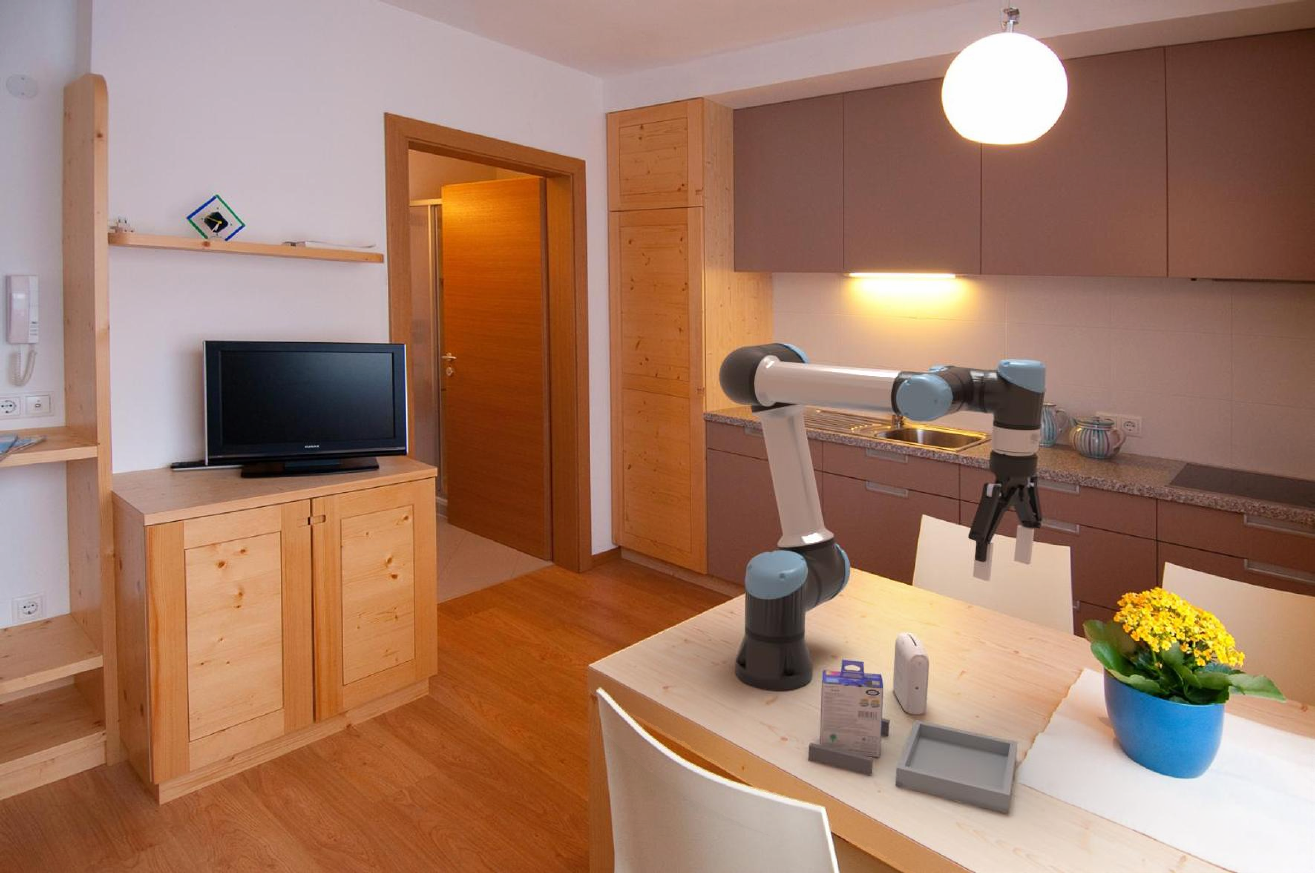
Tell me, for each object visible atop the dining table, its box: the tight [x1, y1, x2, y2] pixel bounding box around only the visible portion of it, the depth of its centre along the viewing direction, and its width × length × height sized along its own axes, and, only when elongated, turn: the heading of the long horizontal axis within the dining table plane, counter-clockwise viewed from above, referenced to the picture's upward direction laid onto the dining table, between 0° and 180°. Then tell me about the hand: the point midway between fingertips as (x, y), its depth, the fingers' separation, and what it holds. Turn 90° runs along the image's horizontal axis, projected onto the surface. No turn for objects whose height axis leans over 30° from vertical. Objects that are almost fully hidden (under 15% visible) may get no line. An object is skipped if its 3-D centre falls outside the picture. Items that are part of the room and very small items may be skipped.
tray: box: [895, 719, 1018, 814], centre depth 133 cm, size 16×16×3 cm
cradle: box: [807, 717, 891, 776], centre depth 141 cm, size 10×14×2 cm
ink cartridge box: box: [819, 659, 884, 758], centre depth 140 cm, size 10×6×14 cm, turn 79°
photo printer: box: [892, 632, 930, 716], centre depth 155 cm, size 10×4×12 cm, turn 179°
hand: (1002, 570), depth 148 cm, fingers open, 13 cm apart
